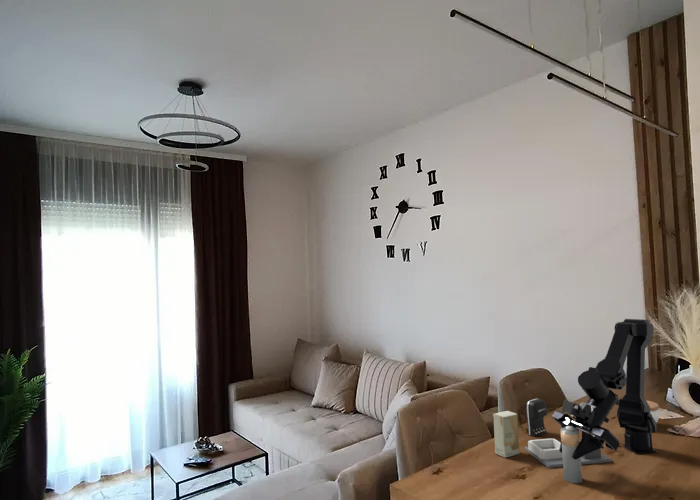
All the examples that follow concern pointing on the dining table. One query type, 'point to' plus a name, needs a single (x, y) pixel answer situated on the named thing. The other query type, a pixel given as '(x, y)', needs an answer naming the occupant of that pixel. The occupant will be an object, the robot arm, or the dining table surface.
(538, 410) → the battery charger
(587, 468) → the dining table surface
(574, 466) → the big cell
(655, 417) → the lidded jar
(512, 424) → the skincare box
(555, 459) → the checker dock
